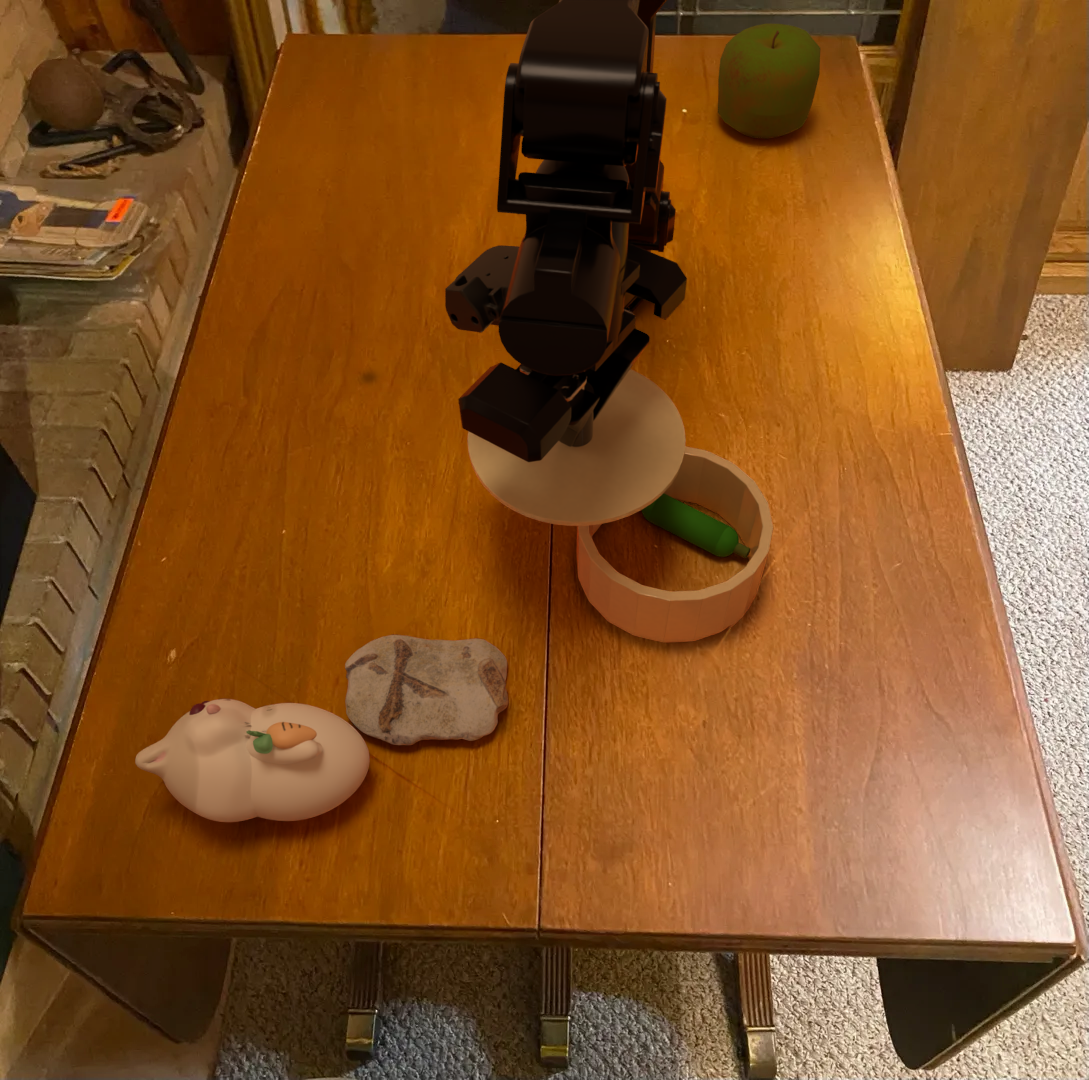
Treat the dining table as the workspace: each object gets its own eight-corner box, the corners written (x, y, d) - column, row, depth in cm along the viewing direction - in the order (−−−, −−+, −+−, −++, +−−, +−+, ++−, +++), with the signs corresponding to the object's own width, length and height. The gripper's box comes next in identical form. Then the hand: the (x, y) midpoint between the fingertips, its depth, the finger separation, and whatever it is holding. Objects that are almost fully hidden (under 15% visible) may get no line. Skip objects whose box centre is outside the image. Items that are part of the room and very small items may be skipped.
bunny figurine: (366, 707, 65) (122, 704, 63) (361, 836, 64) (115, 836, 63) (375, 696, 74) (163, 693, 73) (371, 808, 74) (157, 807, 72)
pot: (636, 470, 88) (640, 418, 83) (790, 545, 83) (805, 495, 78) (542, 588, 81) (540, 541, 76) (703, 678, 76) (714, 634, 71)
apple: (786, 90, 122) (803, -3, 113) (824, 140, 116) (845, 46, 107) (698, 105, 121) (709, 13, 112) (732, 157, 114) (746, 64, 106)
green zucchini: (648, 483, 83) (653, 490, 85) (632, 511, 83) (639, 517, 85) (754, 536, 79) (757, 541, 82) (738, 565, 79) (741, 570, 82)
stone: (343, 758, 73) (335, 738, 70) (351, 646, 78) (344, 625, 76) (510, 750, 73) (508, 730, 71) (507, 639, 78) (505, 617, 76)
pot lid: (547, 340, 81) (546, 285, 77) (723, 422, 76) (733, 367, 71) (424, 467, 74) (415, 415, 69) (609, 568, 68) (613, 518, 64)
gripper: (555, 136, 68) (556, 315, 81) (374, 293, 59) (408, 466, 72) (701, 192, 64) (678, 370, 77) (532, 368, 55) (538, 537, 68)
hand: (576, 430), depth 74 cm, fingers closed on pot lid, 2 cm apart
